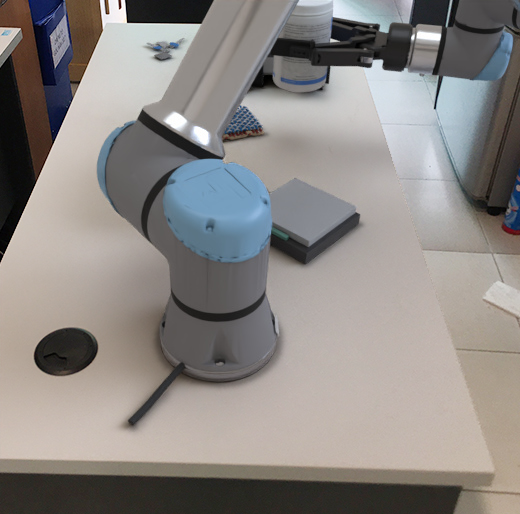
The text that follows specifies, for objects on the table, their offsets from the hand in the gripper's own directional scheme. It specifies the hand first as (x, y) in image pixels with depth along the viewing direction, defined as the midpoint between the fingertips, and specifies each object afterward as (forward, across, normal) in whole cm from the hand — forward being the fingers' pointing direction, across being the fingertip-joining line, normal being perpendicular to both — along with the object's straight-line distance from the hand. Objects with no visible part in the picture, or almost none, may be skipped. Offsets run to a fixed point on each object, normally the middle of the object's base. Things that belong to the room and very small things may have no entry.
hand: (277, 35), depth 109 cm
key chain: (+35, +37, -20) cm, 55 cm away
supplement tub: (-4, 0, -8) cm, 9 cm away
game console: (+4, +34, -20) cm, 40 cm away
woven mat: (+8, +2, -20) cm, 22 cm away
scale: (-10, -27, -20) cm, 35 cm away
